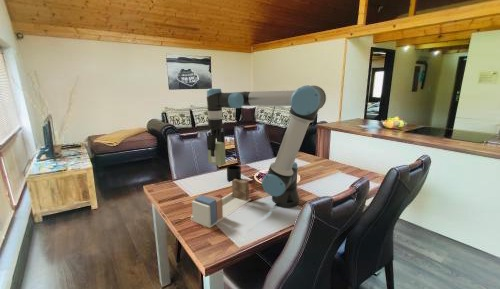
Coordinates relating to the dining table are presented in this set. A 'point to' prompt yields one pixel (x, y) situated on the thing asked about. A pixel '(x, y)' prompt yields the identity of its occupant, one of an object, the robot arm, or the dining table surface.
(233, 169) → the mug
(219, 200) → the book rust
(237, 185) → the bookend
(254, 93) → the robot arm
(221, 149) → the book olive
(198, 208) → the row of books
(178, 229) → the dining table surface
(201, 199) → the book navy
